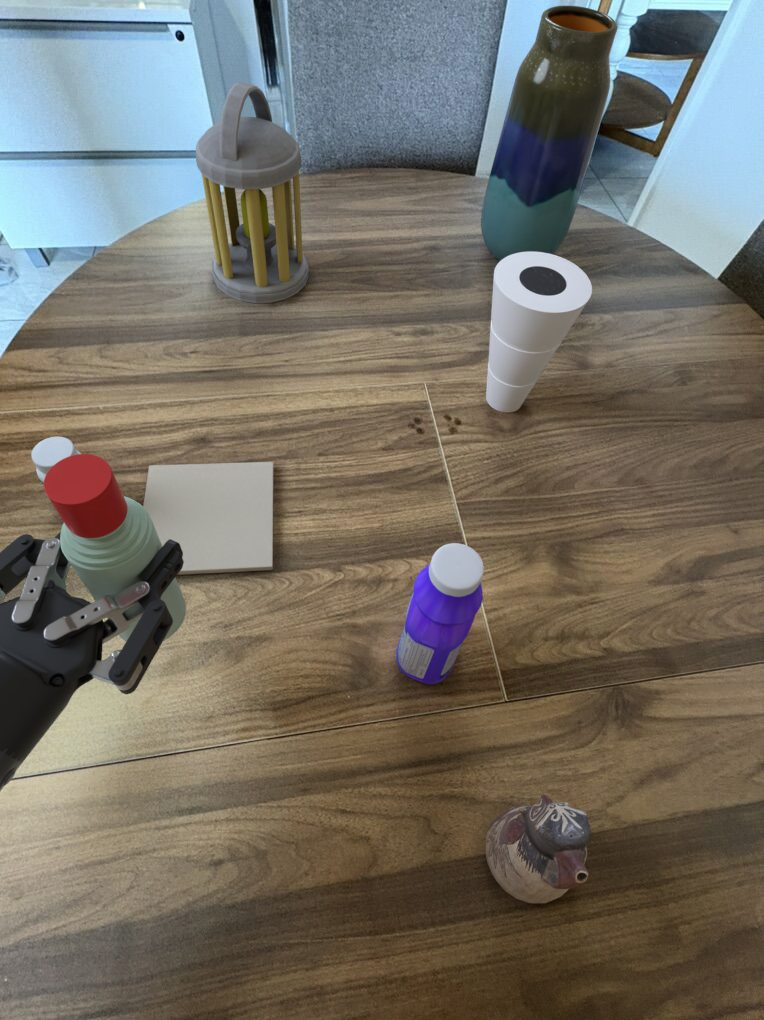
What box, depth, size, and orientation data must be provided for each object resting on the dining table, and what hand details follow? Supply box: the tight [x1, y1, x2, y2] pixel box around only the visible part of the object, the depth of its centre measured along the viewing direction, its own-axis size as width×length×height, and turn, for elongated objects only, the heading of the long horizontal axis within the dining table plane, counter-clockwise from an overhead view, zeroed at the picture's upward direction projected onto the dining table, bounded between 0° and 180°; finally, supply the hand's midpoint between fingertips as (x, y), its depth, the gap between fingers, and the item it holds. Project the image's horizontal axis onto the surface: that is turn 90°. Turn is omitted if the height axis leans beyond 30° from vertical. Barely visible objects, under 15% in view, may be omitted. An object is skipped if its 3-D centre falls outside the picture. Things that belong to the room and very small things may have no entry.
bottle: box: [396, 542, 485, 685], centre depth 53 cm, size 7×6×17 cm
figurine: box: [485, 794, 592, 904], centre depth 46 cm, size 7×7×12 cm
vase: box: [480, 5, 618, 262], centre depth 87 cm, size 14×14×31 cm
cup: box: [485, 252, 593, 414], centre depth 74 cm, size 11×11×18 cm
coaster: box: [142, 461, 275, 576], centre depth 67 cm, size 14×14×1 cm
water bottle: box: [60, 495, 187, 642], centre depth 45 cm, size 6×6×18 cm
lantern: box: [195, 81, 310, 304], centre depth 82 cm, size 14×14×25 cm
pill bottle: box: [30, 436, 82, 486], centre depth 64 cm, size 5×5×8 cm
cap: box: [43, 453, 128, 538], centre depth 39 cm, size 4×4×4 cm
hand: (139, 529), depth 46 cm, fingers closed on water bottle, 6 cm apart
